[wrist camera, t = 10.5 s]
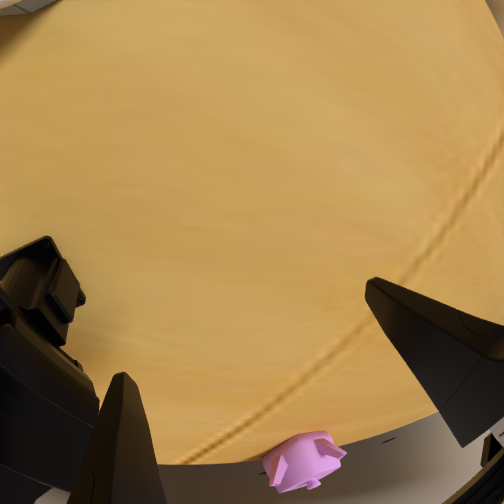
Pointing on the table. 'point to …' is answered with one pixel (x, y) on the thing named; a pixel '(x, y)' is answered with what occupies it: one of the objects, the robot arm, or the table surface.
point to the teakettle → (302, 461)
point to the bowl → (24, 7)
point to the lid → (7, 3)
